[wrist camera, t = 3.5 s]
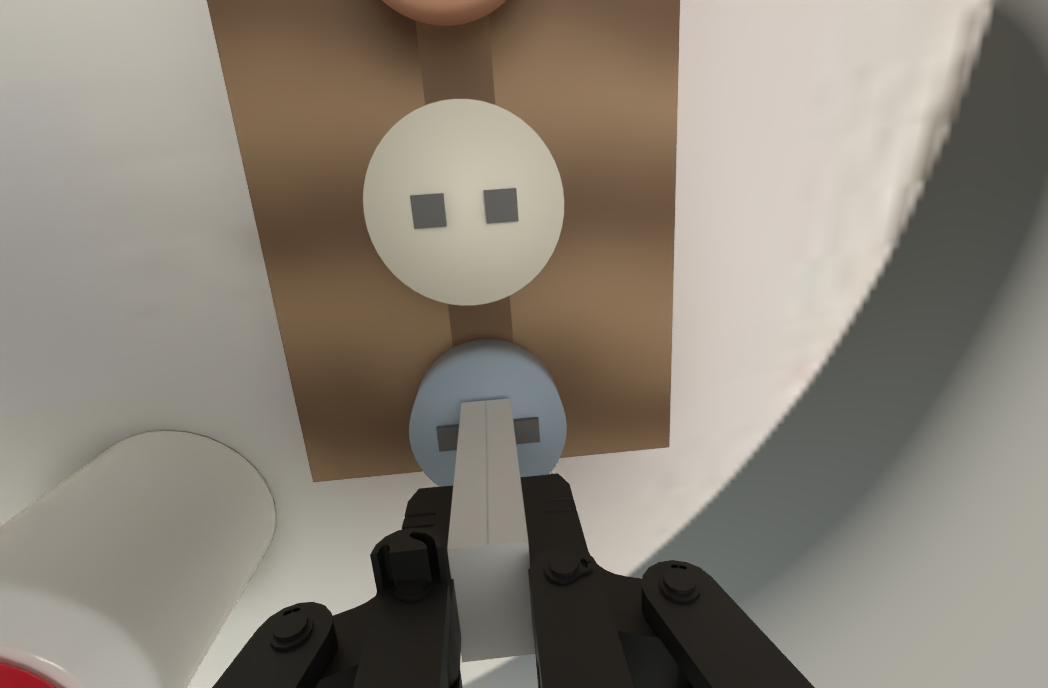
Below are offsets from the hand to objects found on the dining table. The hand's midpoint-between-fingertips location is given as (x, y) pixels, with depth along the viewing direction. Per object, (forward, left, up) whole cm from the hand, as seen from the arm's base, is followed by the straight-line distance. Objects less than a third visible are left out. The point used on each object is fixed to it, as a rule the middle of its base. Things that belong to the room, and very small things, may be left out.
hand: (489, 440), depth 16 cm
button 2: (-7, 0, -3) cm, 8 cm away
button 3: (0, 0, -5) cm, 5 cm away
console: (-7, 0, -6) cm, 9 cm away
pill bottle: (+5, -14, -6) cm, 16 cm away
